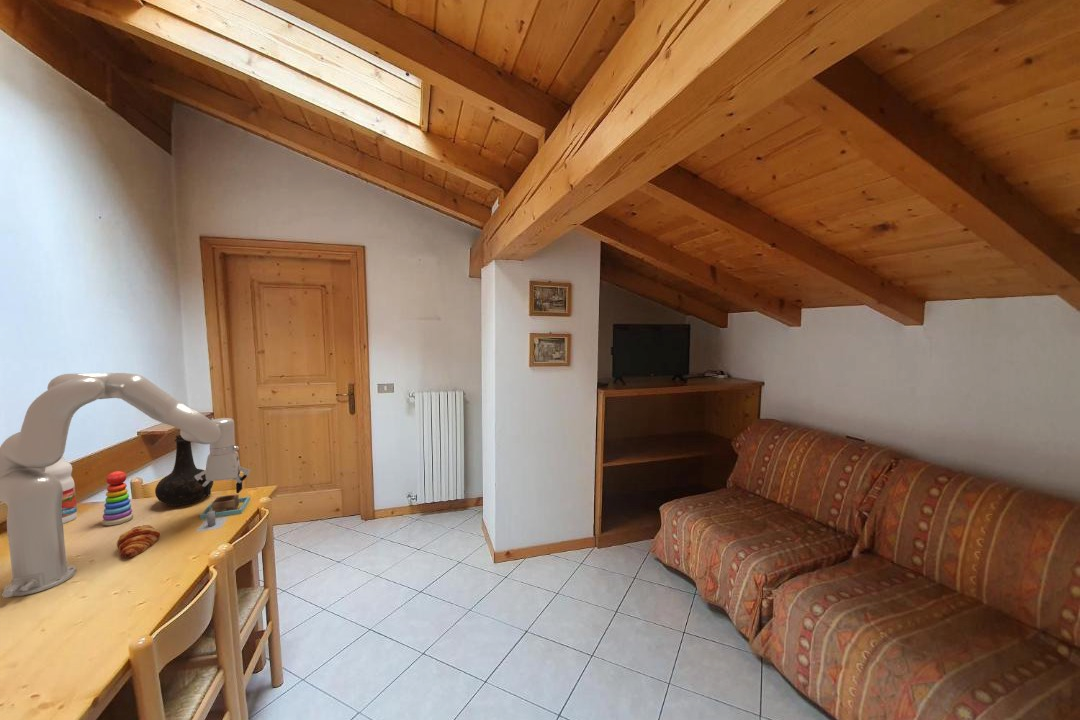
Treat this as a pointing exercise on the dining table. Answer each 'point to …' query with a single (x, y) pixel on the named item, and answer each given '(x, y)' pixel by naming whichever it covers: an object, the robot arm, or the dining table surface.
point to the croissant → (137, 540)
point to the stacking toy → (117, 500)
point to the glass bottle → (181, 478)
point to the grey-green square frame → (226, 513)
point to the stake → (212, 522)
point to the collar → (225, 503)
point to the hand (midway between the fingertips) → (223, 493)
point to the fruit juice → (65, 488)
